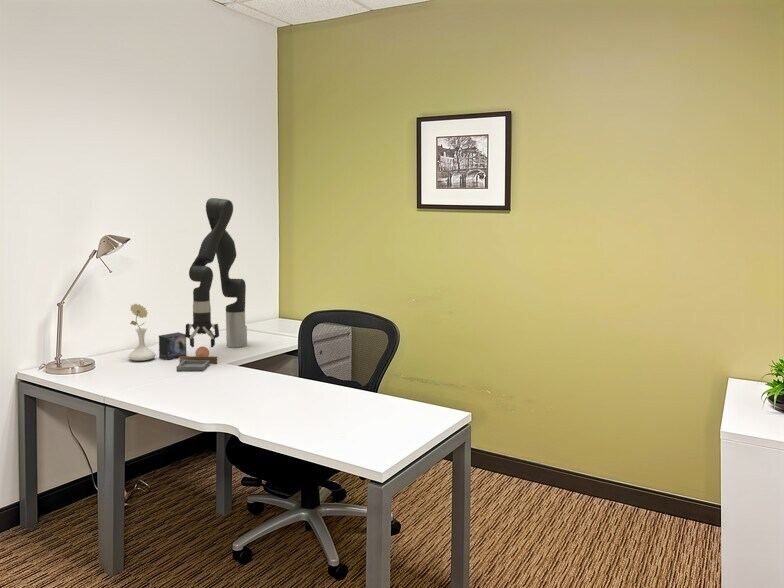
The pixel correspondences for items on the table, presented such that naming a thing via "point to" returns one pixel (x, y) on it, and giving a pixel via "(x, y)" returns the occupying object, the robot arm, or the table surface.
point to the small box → (172, 346)
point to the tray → (193, 365)
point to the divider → (199, 358)
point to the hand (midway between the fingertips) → (202, 347)
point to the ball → (202, 352)
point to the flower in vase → (140, 336)
